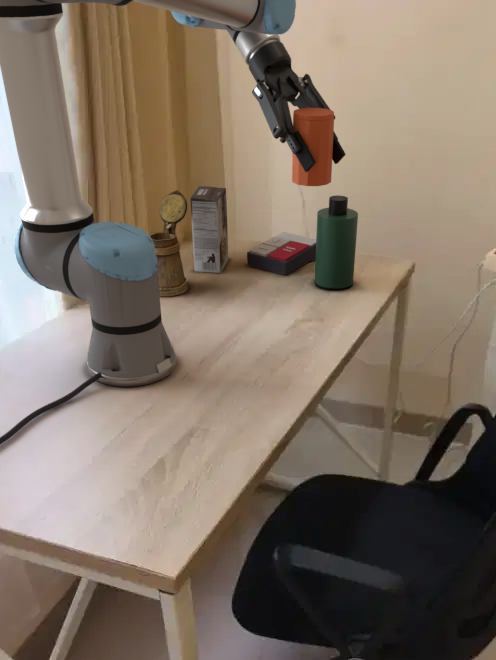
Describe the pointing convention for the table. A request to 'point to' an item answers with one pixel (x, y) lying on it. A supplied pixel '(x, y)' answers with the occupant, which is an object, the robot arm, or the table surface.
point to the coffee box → (209, 229)
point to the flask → (335, 245)
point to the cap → (314, 145)
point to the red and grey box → (283, 253)
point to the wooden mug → (170, 246)
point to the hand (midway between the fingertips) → (325, 163)
